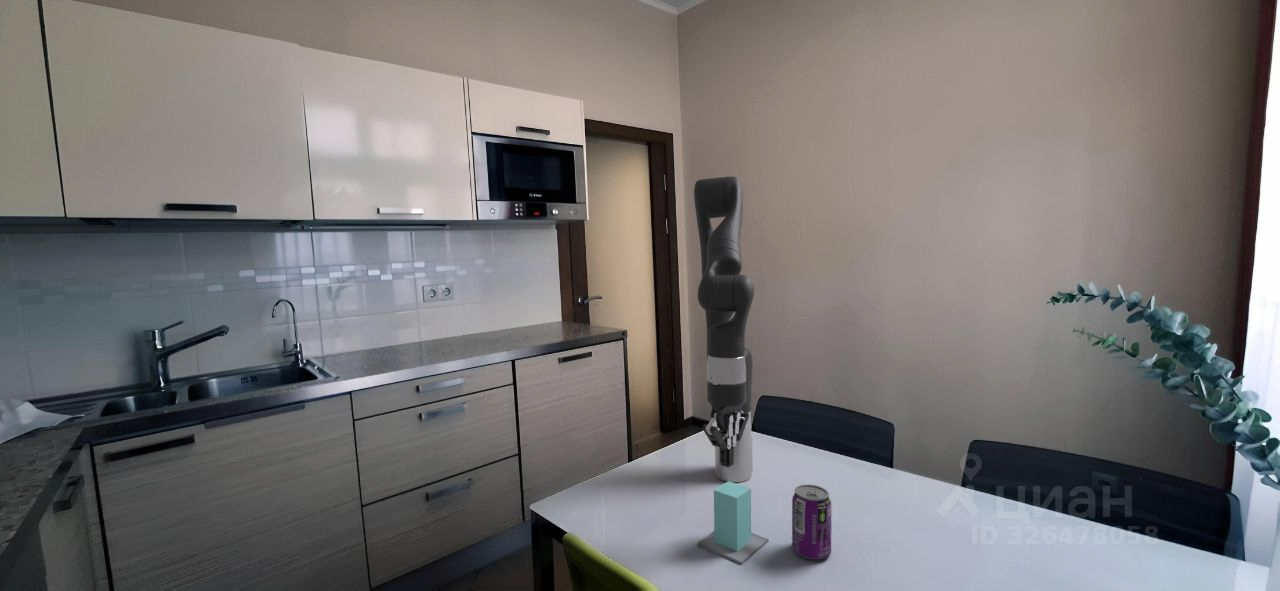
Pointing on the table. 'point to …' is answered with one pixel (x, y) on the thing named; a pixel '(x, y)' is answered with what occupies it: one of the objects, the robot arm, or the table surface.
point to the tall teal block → (732, 515)
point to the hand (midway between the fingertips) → (726, 465)
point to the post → (731, 554)
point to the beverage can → (811, 522)
